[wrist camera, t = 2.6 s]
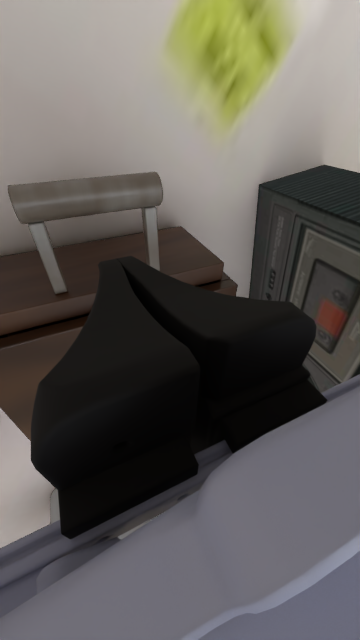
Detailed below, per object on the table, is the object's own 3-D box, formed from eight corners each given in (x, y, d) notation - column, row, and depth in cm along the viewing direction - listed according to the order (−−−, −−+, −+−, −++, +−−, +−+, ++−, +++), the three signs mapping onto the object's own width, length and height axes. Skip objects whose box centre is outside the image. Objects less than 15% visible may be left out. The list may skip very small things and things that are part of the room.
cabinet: (-20, 272, 17) (-44, 360, 11) (183, 235, 21) (238, 284, 16) (47, 384, 25) (52, 466, 19) (181, 340, 29) (217, 397, 24)
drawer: (-74, 166, 12) (-131, 205, 8) (181, 149, 16) (236, 169, 12) (46, 374, 23) (50, 439, 19) (180, 332, 27) (209, 377, 23)
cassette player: (259, 184, 21) (684, 345, 7) (324, 165, 23) (776, 269, 9) (242, 376, 41) (347, 513, 28) (276, 359, 43) (392, 481, 29)
